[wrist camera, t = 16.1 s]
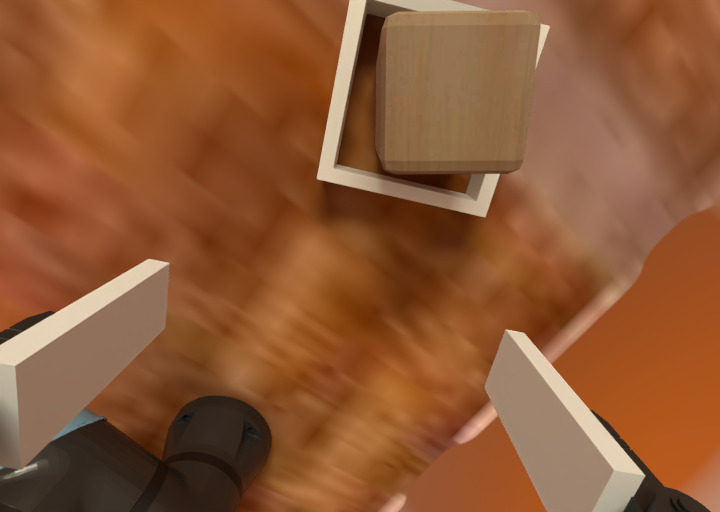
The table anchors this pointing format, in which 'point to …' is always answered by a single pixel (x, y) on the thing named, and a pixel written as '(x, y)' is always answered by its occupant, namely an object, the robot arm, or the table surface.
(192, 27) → the table surface
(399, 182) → the box
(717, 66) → the table surface
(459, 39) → the wooden block
